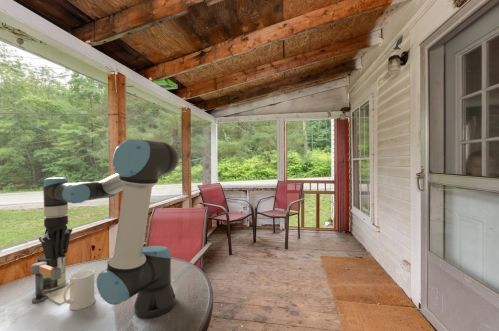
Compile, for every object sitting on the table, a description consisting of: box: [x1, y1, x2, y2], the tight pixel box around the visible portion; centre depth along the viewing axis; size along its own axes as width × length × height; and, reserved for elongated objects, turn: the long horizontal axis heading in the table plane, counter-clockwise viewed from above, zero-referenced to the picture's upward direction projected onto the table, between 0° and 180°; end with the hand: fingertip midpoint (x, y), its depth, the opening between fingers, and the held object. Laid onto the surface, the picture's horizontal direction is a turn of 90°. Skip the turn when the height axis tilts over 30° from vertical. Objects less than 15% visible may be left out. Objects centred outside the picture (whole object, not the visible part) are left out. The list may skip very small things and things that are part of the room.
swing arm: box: [30, 262, 61, 280], centre depth 96 cm, size 17×5×4 cm, turn 64°
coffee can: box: [36, 253, 67, 292], centre depth 111 cm, size 10×10×14 cm
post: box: [31, 273, 47, 304], centre depth 99 cm, size 4×4×12 cm
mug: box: [63, 269, 96, 311], centre depth 94 cm, size 12×8×12 cm
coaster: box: [45, 286, 70, 306], centre depth 104 cm, size 13×13×1 cm
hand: (57, 273), depth 96 cm, fingers closed
